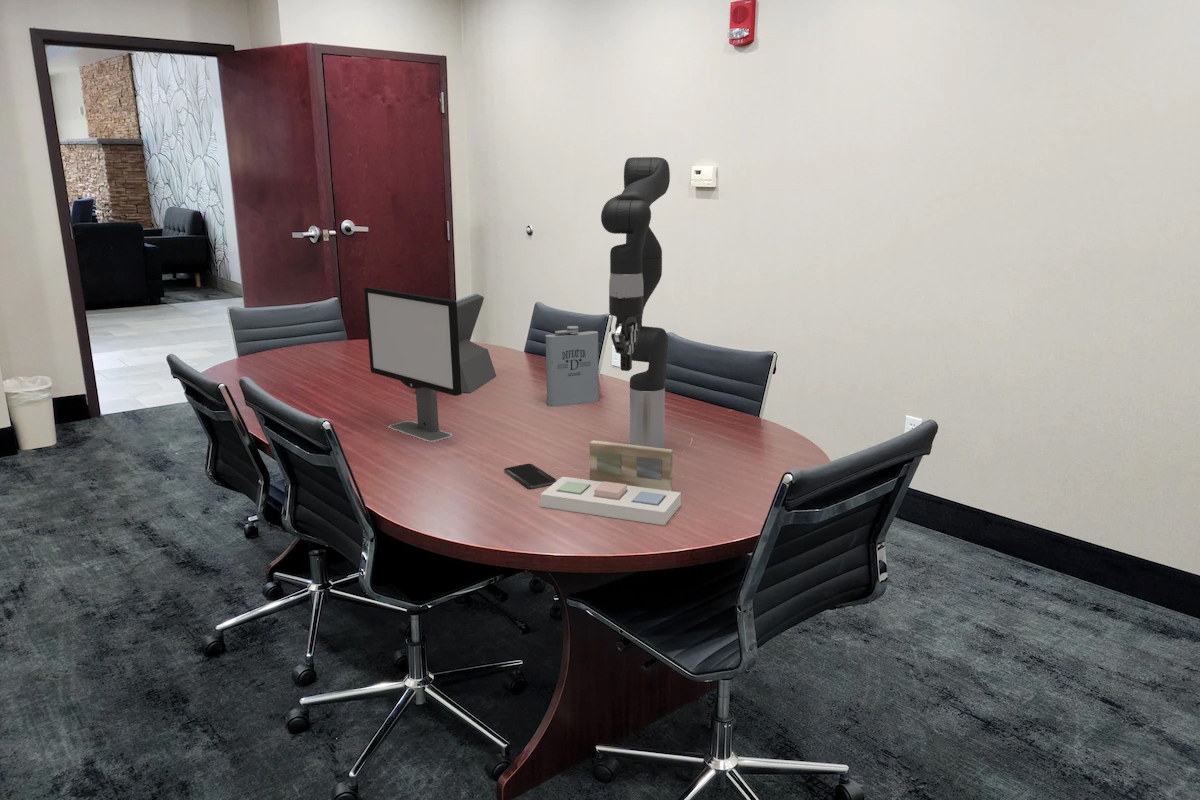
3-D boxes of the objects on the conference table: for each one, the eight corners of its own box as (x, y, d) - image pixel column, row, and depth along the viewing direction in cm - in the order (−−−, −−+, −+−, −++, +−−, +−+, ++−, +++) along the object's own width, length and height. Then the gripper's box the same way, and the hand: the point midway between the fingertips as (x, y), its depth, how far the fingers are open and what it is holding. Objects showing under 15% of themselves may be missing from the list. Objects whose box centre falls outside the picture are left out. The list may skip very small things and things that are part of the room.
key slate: (641, 502, 190) (641, 491, 189) (665, 506, 188) (665, 494, 187) (632, 511, 185) (632, 500, 184) (657, 515, 183) (657, 503, 182)
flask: (550, 407, 267) (548, 329, 261) (545, 403, 272) (543, 327, 265) (601, 401, 274) (600, 325, 267) (596, 398, 278) (595, 322, 271)
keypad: (562, 488, 200) (562, 476, 199) (680, 505, 190) (681, 492, 189) (540, 506, 189) (540, 494, 189) (664, 525, 179) (664, 512, 178)
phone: (529, 487, 199) (502, 468, 212) (529, 491, 199) (502, 472, 212) (558, 480, 203) (531, 462, 215) (558, 485, 203) (531, 466, 216)
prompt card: (593, 479, 206) (592, 440, 203) (672, 490, 198) (672, 449, 196) (589, 482, 204) (588, 443, 201) (669, 493, 196) (669, 452, 194)
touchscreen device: (452, 370, 318) (451, 290, 309) (501, 374, 313) (501, 293, 305) (410, 393, 285) (407, 305, 277) (464, 399, 280) (463, 309, 272)
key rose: (603, 492, 193) (603, 481, 192) (626, 495, 191) (626, 484, 190) (594, 501, 188) (594, 489, 187) (618, 504, 186) (618, 493, 185)
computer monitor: (368, 421, 254) (357, 288, 243) (392, 415, 260) (382, 285, 249) (452, 450, 227) (444, 302, 217) (477, 443, 233) (470, 298, 222)
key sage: (567, 492, 196) (567, 481, 195) (589, 495, 194) (589, 484, 193) (557, 500, 191) (557, 489, 190) (580, 504, 189) (580, 492, 188)
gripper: (620, 288, 193) (620, 362, 198) (599, 296, 182) (599, 375, 186) (651, 290, 191) (651, 365, 195) (632, 298, 179) (632, 378, 184)
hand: (626, 370), depth 191 cm, fingers closed
